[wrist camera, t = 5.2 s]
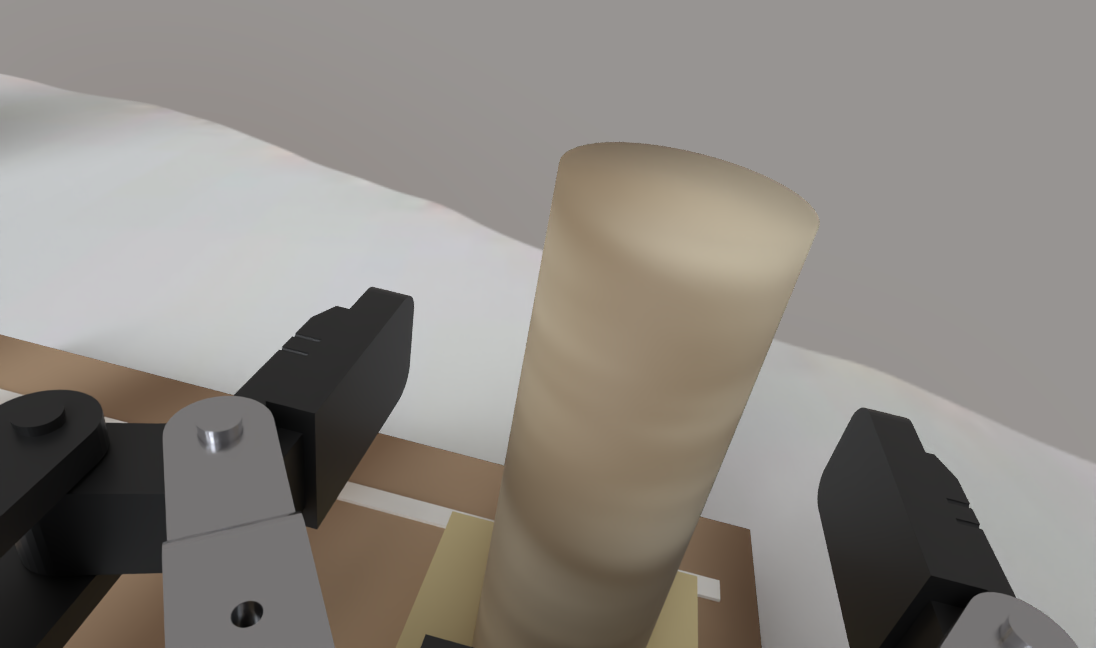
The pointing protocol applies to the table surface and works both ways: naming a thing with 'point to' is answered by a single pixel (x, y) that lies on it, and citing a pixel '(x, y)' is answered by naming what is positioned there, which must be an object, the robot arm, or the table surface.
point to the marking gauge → (622, 403)
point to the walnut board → (358, 521)
